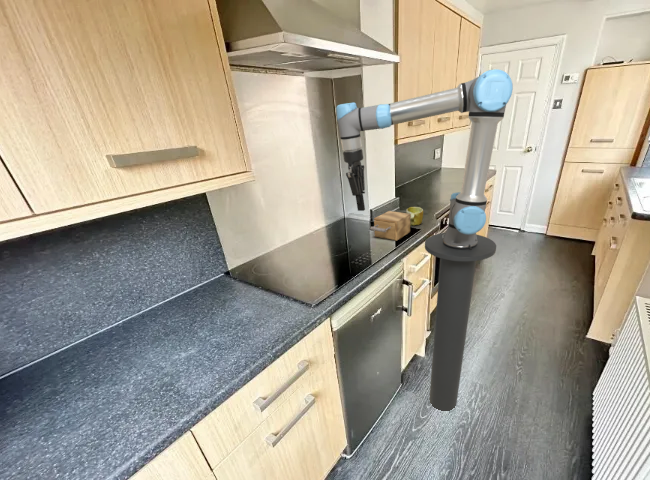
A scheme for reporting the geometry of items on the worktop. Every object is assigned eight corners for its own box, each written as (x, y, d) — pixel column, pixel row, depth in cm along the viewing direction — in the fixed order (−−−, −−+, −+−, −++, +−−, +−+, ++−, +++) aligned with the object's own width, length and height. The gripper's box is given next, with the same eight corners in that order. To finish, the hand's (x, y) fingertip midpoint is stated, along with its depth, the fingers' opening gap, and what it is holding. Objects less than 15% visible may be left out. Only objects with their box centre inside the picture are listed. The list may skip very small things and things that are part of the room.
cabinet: (396, 240, 154) (396, 221, 149) (374, 236, 160) (374, 218, 155) (410, 232, 164) (410, 213, 160) (389, 228, 171) (388, 210, 166)
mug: (407, 216, 183) (411, 201, 176) (423, 223, 180) (428, 208, 173) (398, 226, 175) (402, 210, 168) (414, 233, 172) (419, 218, 165)
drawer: (387, 243, 148) (387, 227, 144) (367, 239, 154) (366, 224, 150) (407, 231, 163) (407, 216, 159) (387, 228, 168) (387, 213, 164)
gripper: (350, 147, 127) (359, 205, 139) (336, 154, 117) (346, 215, 129) (367, 145, 124) (375, 204, 136) (354, 152, 114) (363, 215, 126)
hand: (361, 210), depth 133 cm, fingers closed
